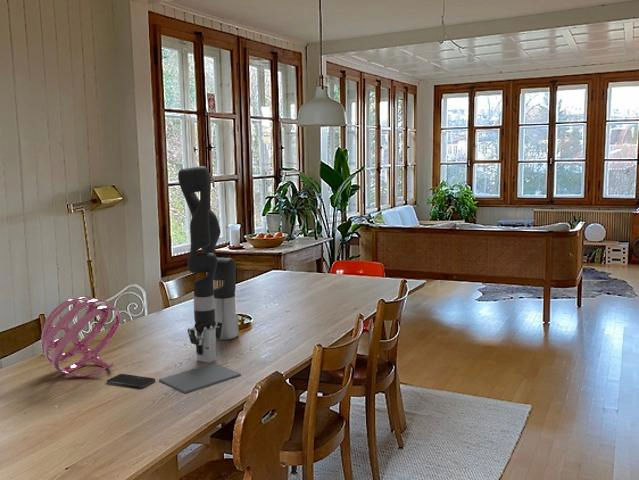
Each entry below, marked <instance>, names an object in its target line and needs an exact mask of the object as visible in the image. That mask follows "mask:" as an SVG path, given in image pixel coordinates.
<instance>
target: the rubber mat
mask: <svg viewBox="0 0 639 480" xmlns="http://www.w3.org/2000/svg"><path fill="white" fill-rule="evenodd" d="M241 375H242V373H240V372H238V371H236V370H234V369H233V370H232V369H230V368H227V367H226V366H223V365H220V364H219V363H218V364H217V363H216V362H211V363H209V364H205V365H203V366H202V365H201V366H199V367H195V368H192V369H189V370H185V371H182V372H179V373H175V374H172V375H169V376H166V377H165V376H164V377H162V378H159V379H158V381H159V382H161V383H163V384H165V385H166V386H169V387H171V388H173V389H175V390H177V391H178V392H181V393H183V394H187V393H191V392H194V391H197V390H200V389H203V388H207V387H209V386H212V385H215V384H218V383H222V382H224V381H227V380H230V379H234V378H237V377H240V376H241Z"/></svg>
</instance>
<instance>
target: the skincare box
mask: <svg viewBox="0 0 639 480" xmlns="http://www.w3.org/2000/svg"><path fill="white" fill-rule="evenodd" d="M195 332H196V333H195V335H196V334H197V331H195ZM198 335H199V336H201V335H200V334H198ZM201 345H202V355H199V354H198V353H197V352H196V361H199V362H202V363H209V364H210V363H213V362H214V361H216V360H217V340H216V328H212V329H207V330H205V336H204V339H203V340H202V344H201Z"/></svg>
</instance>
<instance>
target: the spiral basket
mask: <svg viewBox="0 0 639 480" xmlns="http://www.w3.org/2000/svg"><path fill="white" fill-rule="evenodd" d="M82 300H84V301H82ZM80 301H81V302H80ZM99 302H101V303H102V305H100V306H99V307H97V303H99ZM71 305H72V307H71V309H70V310H68V312H66V313H65V314H64V315H63V316H62V317H61V316H59V315H60V314H61V313H63V312H64V310H65V309H67V308H69V306H71ZM84 308H87V310H86V311H85V313H84V315H83V316H82V317H81V318H79V319H78V320H77V321H76V322H75V323H74V324H73V325H72V326H71V327H70V328H69V325H70V323H71V322H72V321H73V320H74V319H75V317H77V315H78V313H79V312H80V311H81V310H83V309H84ZM111 311H114V312H115V318H114V320H113V323H112V325H111V327H110V328H109V330H108V332H107V334H105V335H104V337H103V338H102V340H101V341H100V342H99V343H98V344H97V346H95V347H94V348H93V349H89V347H88V346H89V344H91V342H92V341H93V340H94V339H95V338H96V337H97V336H98V334H99V333H100V332H101V330H103V328H104V326H105V325H106V322H107V320H108V319H109V315H110V312H111ZM58 316H59V320H58V321H57V322H56V324H55V325H53V322H54V320H55V319H56V318H57V317H58ZM98 316H100V317H99V318H98V321H97V322H96V324H95V326H94V327H93V328H92V330H91V331H90V332H89V333H88V334H87V336H85V337H84V338H83V339H79V338H78V335H79V334H80V333H81V331H83V330H84V328H85V327H86V326H87V325H88V323H89V322H90V321H92V320H93V319H94V318H96V317H98ZM121 319H122V317H121V312H120V310H119V309H118V308H117V307H116V306H114V305H112V304H110V303H109V302H108V301H107V300H106V299H103V298H100V297H92V296H89V295H83V296H77V297H75V298H72V299H71V298H70V299H67V300H65V301H63V302H62V303H60V304H58V305H57V306H56V307H55V308H54V309H53V310H52V311H51V312H50V313H49V314H48V316H47V317H46V320H45V322H44V325H43V328H42V332H41V338H40V341H41V345H42V346H43V355H44V356H45V358H46V360H47V361H48V362H49V363H50V364H51V365H52V366H53V368H54V369H55V370H57V371H58V372H60V373H62V374H64V375H66V376H68V377H73V378H88V377H93V376H95V375H98V374H100V373H102V372H104V371H105V370H106V369H109V368H112V367H114V363H111V364H109V363H108V362H106V361H104V360H102V359H101V358H99V354H100V353H101V352H102V351H103V349H104V348H105V347H106V346H107V345H108V344H109V343H110V341H111V340H112V338H113V337H114V336H115V334H116V332H117V330H118V328H119V326H120V323H121ZM52 325H53V326H52ZM61 330H64V333H65V334H64V335H63V336H62V337H60V338H58V339H56V340H54V338H55V336H56V335H57V334H58V333H59V331H61ZM70 342H71V343H72V344H73V347H72V348H71V349H68V350H67V351H66V352H64V350H65V349H66V347H67V345H68V344H69V343H70ZM52 349H54V351H53V354H51V351H50V350H52ZM77 354H82V355H83V357H82V358H81V359H80V360H78V361H76V362H75V363H72V364H71V365H68V366H65V367H60V366H59V365H60V364H59V363H60V362H64V361H66V360H68V359H70V358H73V357H74V356H75V355H77ZM88 363H94V364H95V365H97V366H99V367H101V368H100V369H98V370H96V371H94V372H93V371H92V372H90V373H86V374H85V373H83V374H77V373H72V372H73V371H76V370H78V369H80V368H81V367H84V366H85V365H86V364H88ZM70 372H71V373H70Z"/></svg>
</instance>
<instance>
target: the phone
mask: <svg viewBox="0 0 639 480" xmlns="http://www.w3.org/2000/svg"><path fill="white" fill-rule="evenodd" d="M154 383H156V378H155V377H147V376H142V375H141V376H140V375H134V374H128V373H127V374H126V373H119V374H117V375H115V376H113V377H111V378H109V379H107V380H106V384H107V385H114V386H120V387H125V388H132V389H138V390H140V389H141V390H142V389H145V388H147V387H149V386H150V385H152V384H154Z"/></svg>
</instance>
